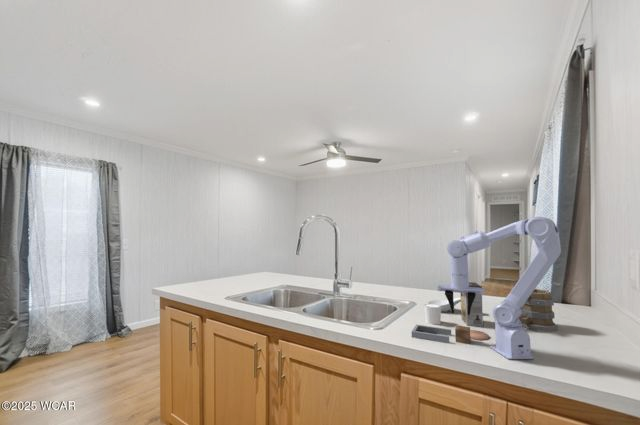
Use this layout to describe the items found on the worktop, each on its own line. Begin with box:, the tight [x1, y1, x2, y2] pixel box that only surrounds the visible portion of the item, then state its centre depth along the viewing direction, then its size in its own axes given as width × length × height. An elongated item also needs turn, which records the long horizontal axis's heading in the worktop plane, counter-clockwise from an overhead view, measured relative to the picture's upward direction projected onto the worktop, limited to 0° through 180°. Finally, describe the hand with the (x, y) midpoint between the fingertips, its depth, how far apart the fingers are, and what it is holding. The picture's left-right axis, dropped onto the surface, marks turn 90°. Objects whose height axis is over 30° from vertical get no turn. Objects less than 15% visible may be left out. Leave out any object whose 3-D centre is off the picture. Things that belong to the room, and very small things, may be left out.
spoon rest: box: [426, 296, 461, 313], centre depth 140 cm, size 24×12×7 cm, turn 66°
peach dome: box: [470, 329, 490, 341], centre depth 107 cm, size 9×9×1 cm
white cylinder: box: [423, 303, 442, 325], centre depth 124 cm, size 7×7×7 cm
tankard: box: [519, 288, 559, 332], centre depth 117 cm, size 20×13×15 cm, turn 110°
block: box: [454, 325, 472, 345], centre depth 103 cm, size 4×4×4 cm
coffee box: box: [460, 281, 484, 327], centre depth 123 cm, size 9×6×16 cm
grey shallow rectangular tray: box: [411, 324, 452, 344], centre depth 107 cm, size 12×9×2 cm
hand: (460, 313), depth 103 cm, fingers open, 4 cm apart
